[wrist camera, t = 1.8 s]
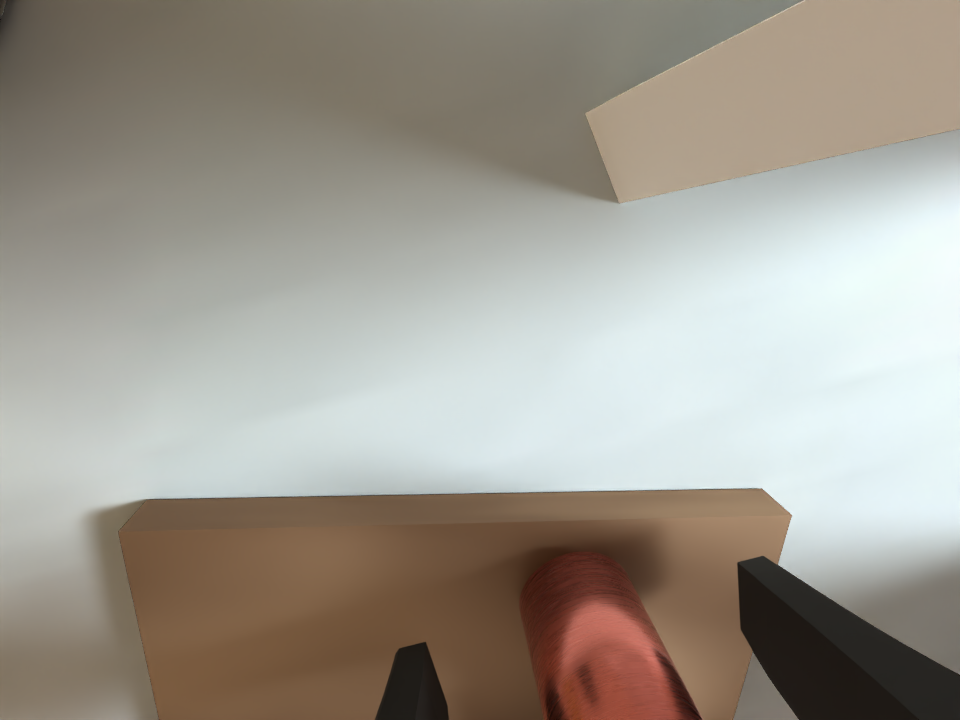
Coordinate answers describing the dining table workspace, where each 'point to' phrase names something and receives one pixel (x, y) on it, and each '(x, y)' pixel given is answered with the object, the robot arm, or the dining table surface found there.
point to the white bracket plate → (787, 95)
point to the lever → (597, 645)
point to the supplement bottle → (2, 7)
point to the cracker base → (421, 594)
